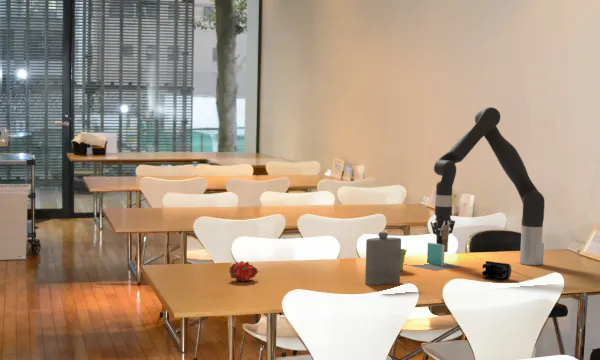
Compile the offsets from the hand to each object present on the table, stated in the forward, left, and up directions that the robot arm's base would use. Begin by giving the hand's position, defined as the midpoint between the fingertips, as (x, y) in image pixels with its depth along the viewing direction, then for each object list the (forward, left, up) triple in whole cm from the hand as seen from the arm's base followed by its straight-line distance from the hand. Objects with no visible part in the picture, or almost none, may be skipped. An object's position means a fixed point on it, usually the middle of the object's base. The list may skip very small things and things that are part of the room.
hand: (442, 243), depth 370 cm
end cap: (-35, +6, -10) cm, 37 cm away
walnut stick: (0, 0, -4) cm, 4 cm away
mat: (0, +7, -9) cm, 12 cm away
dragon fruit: (+17, +95, -10) cm, 97 cm away
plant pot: (+1, +28, -10) cm, 30 cm away
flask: (-16, +52, -10) cm, 56 cm away
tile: (0, +4, -9) cm, 10 cm away
